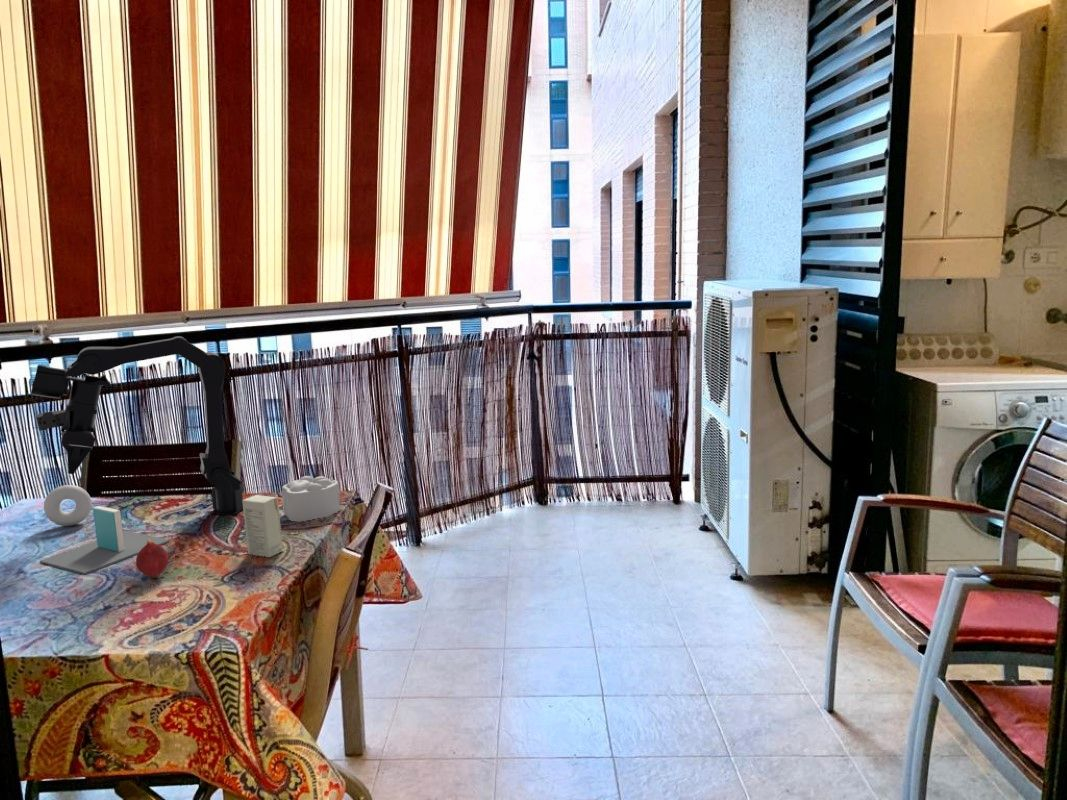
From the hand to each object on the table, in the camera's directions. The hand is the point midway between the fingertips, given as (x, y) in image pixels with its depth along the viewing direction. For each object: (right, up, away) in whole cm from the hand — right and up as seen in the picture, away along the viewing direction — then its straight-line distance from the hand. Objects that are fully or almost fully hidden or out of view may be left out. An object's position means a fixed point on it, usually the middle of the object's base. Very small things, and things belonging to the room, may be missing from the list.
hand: (70, 469), depth 180 cm
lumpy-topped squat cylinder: (+51, -12, +16) cm, 55 cm away
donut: (-6, -14, +10) cm, 18 cm away
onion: (+29, -20, -22) cm, 41 cm away
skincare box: (+47, -17, -9) cm, 51 cm away
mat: (+12, -17, -7) cm, 22 cm away
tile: (+13, -12, -7) cm, 19 cm away
